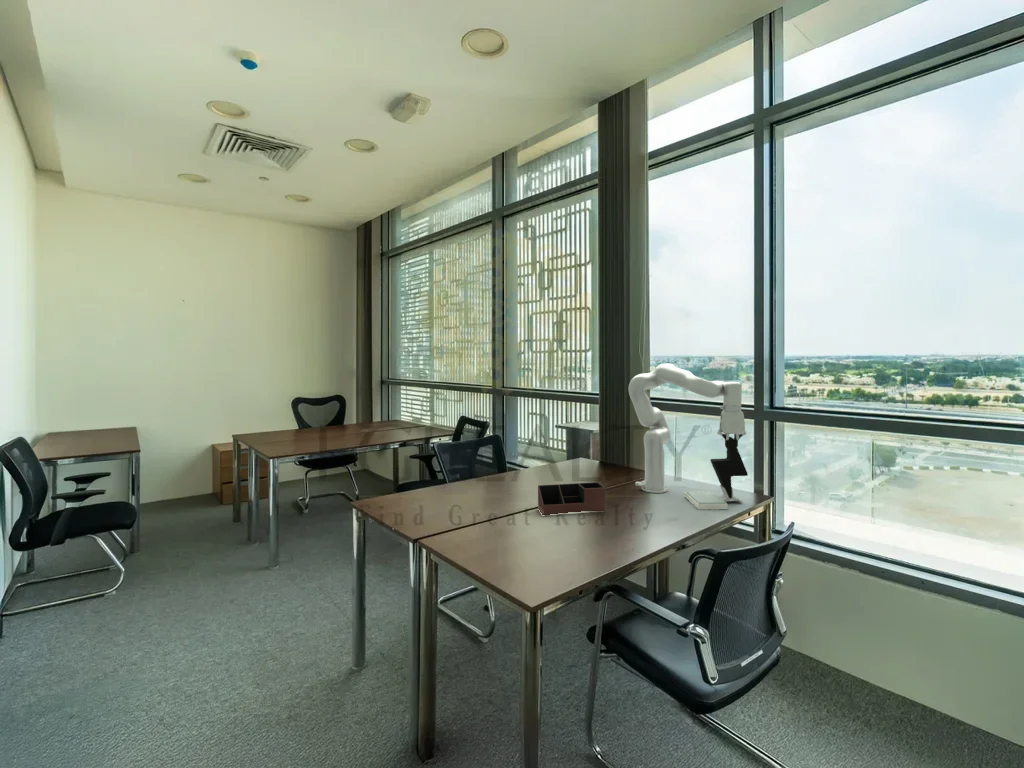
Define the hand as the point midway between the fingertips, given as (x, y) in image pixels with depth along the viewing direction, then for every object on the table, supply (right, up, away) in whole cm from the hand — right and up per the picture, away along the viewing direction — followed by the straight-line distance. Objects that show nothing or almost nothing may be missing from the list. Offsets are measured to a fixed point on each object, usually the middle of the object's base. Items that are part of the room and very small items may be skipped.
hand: (731, 447), depth 225 cm
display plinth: (-12, -26, +1) cm, 28 cm away
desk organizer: (-75, -27, -8) cm, 80 cm away
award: (0, -25, +2) cm, 25 cm away
